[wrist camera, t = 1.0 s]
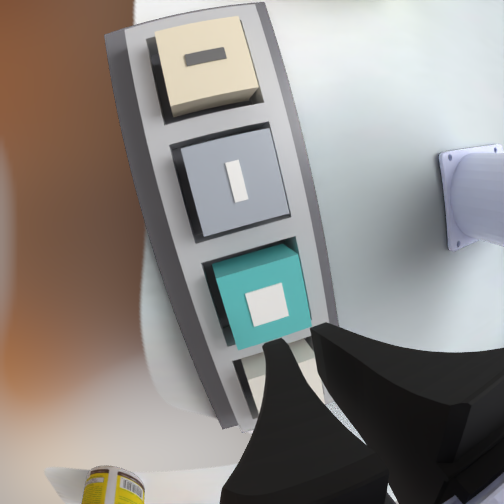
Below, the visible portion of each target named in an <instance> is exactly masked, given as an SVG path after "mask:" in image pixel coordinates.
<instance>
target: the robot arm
mask: <svg viewBox="0 0 504 504" xmlns="http://www.w3.org/2000/svg"><path fill="white" fill-rule="evenodd" d="M448 156H449V159H448ZM439 162H440V169H441V175H442V183H443V191H444V200H445V210H446V221H447V236H448V249H449V250H450V251H456V250H459V249H461V248H463V247H465V246H467V245H470V244H472V243H474V242H476V241H478V240H483V241H486V242H490V243H493V244H496V245H500V246H503V247H504V153H503V148H502V145H501V144H493V145H486V146H479V147H471V148H465V149H458V150H452V151H445V152H441V153H440V154H439ZM310 332H311V337H312V343H313V349H314V354H315V360H316V366H317V372H318V374H319V376H320V378H321V380H322V382H323V384H324V386H325V387H326V389H327V391H328V393H329V394H330V396H331V397H332V398H333V400H334V401H335V402H336V404H337V405H338V406H339V408H340V409H341V410H342V412H343V413H344V414H345V416H346V417H347V418H348V420H349V421H350V422H351V424H352V425H353V426H354V427H355V429H356V430H357V431H358V433H359V434H360V435H361V437H362V438H363V440H364V441H365V443H366V444H367V445H366V444H364V443H363V442H362V441H361V440H360V439H359V438H357V437H356V436H355V435H354V434H353V433H352V432H350V431H349V430H348V429H347V428H346V427H345V426H344V425H343V424H342V423H341V422H340V421H339V420H338V419H337V418H336V417H335V416H334V415H333V414H332V413H331V411H330V410H329V409H328V408H327V407H326V406H325V404H324V403H323V402H322V401H321V400H320V399H319V397H318V396H317V395H316V393H315V392H314V391H313V389H312V388H311V387H310V386H309V384H308V383H307V381H306V379H305V377H304V376H303V374H302V371H301V369H300V367H299V365H298V363H297V361H296V359H295V357H294V355H293V353H292V351H291V349H290V347H289V345H288V344H287V343H286V341H285V340H284V339H282V338H279V339H275V340H272V341H269V342H266V343H264V345H263V346H262V349H263V352H264V356H265V362H266V374H265V386H264V393H263V399H262V404H261V408H260V412H259V416H258V419H257V422H256V425H255V428H254V431H253V434H252V436H251V439H250V441H249V443H248V445H247V447H246V449H245V451H244V453H243V455H242V457H241V459H240V461H239V463H238V465H237V466H236V468H235V469H234V471H233V473H232V474H231V476H230V477H229V479H228V480H227V482H226V483H225V485H224V486H223V488H222V492H221V498H220V504H385V498H386V492H387V486H388V483H389V485H390V487H391V489H392V491H393V493H394V495H395V497H396V499H397V501H398V503H399V504H504V348H500V349H494V350H487V351H479V352H463V353H447V352H431V351H422V350H415V349H409V348H403V347H399V346H394V345H391V344H387V343H383V342H380V341H376V340H373V339H370V338H367V337H364V336H361V335H359V334H356V333H353V332H351V331H348V330H345V329H343V328H340V327H338V326H335V325H333V324H330V323H327V322H325V323H322V324H319V325H317V326H314V327H311V328H310Z"/></svg>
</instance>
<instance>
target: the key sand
mask: <svg viewBox="0 0 504 504" xmlns="http://www.w3.org/2000/svg"><path fill="white" fill-rule="evenodd" d="M155 37H156V42H157V47H158V52H159V57H160V61H161V66H162V70H163V75H164V80H165V84H166V89H167V93H168V97H169V102H170V106H171V110H172V114H173V117H177V116H181V115H184V114H188V113H192V112H196V111H200V110H205V109H209V108H213V107H218V106H222V105H227V104H232V103H237V102H242V101H247V100H249V99H250V97H251V96H252V95H253V94H254V92H255V91H256V90H257V89H258V87H259V86H258V82H257V79H256V75H255V71H254V68H253V64H252V61H251V57H250V53H249V50H248V46H247V43H246V39H245V36H244V32H243V29H242V26H241V22H240V19H239V16H233V17H226V18H219V19H213V20H207V21H201V22H196V23H191V24H186V25H181V26H176V27H172V28H168V29H164V30H160V31H156V32H155Z"/></svg>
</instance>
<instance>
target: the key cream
mask: <svg viewBox="0 0 504 504" xmlns="http://www.w3.org/2000/svg"><path fill="white" fill-rule="evenodd" d="M288 345H289V347H290V349H291V351H292V353H293V355H294V357H295V359H296V361H297V363H298V365H299V367H300V369H301V371H302V374H303V376H304V377H305V379H306V381H307V383H308V384H309V386H310V387H311V388H312V389H313V391H314V392H315V393H316V395H317V396H318V397H319V399H320V400H321V401H322V402H323V403H324V404H325V401H324V394H323V388H322V382H321V378H320V376H319V374H318V372H317V366H316V360H315V354H314V351H313V350H312V349H311V347H310V346H309V345H308V343H307V342H306V341H305V339H304V338H303V339H300V340H297V341H294V342H291V343H288ZM241 361H242V364H243V367H244V371H245V374H246V377H247V380H248V383H249V386H250V389H251V392H252V395H253V398H254V401H255V404H256V407H257V410H258V412H260V408H261V404H262V399H263V393H264V386H265V374H266V362H265V356H264V352H261V353H258V354H254V355H251V356H248V357H245V358H241Z"/></svg>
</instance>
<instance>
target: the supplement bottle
mask: <svg viewBox="0 0 504 504" xmlns="http://www.w3.org/2000/svg"><path fill="white" fill-rule="evenodd" d="M144 493H145V491H144V485H143V483H142V481H141V480H140V479H139V478H138V477H137V476H136V475H134V474H133V473H131V472H129V471H126V470H124V469H122V468H118V467H113V466H98V467H95V468H93V469H91V470H90V471H89V472H88V475H87V479H86V483H85V489H84V494H83V499H82V504H144Z"/></svg>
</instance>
